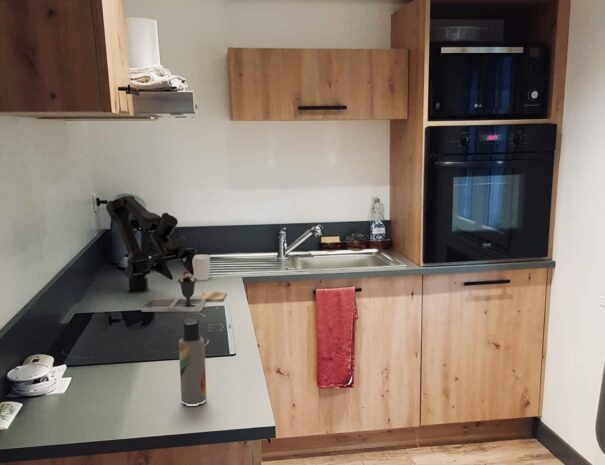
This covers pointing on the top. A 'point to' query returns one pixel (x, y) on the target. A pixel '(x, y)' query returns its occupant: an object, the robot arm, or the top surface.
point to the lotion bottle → (192, 363)
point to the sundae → (187, 287)
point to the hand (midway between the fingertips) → (182, 276)
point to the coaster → (213, 296)
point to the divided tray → (171, 305)
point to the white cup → (201, 267)
